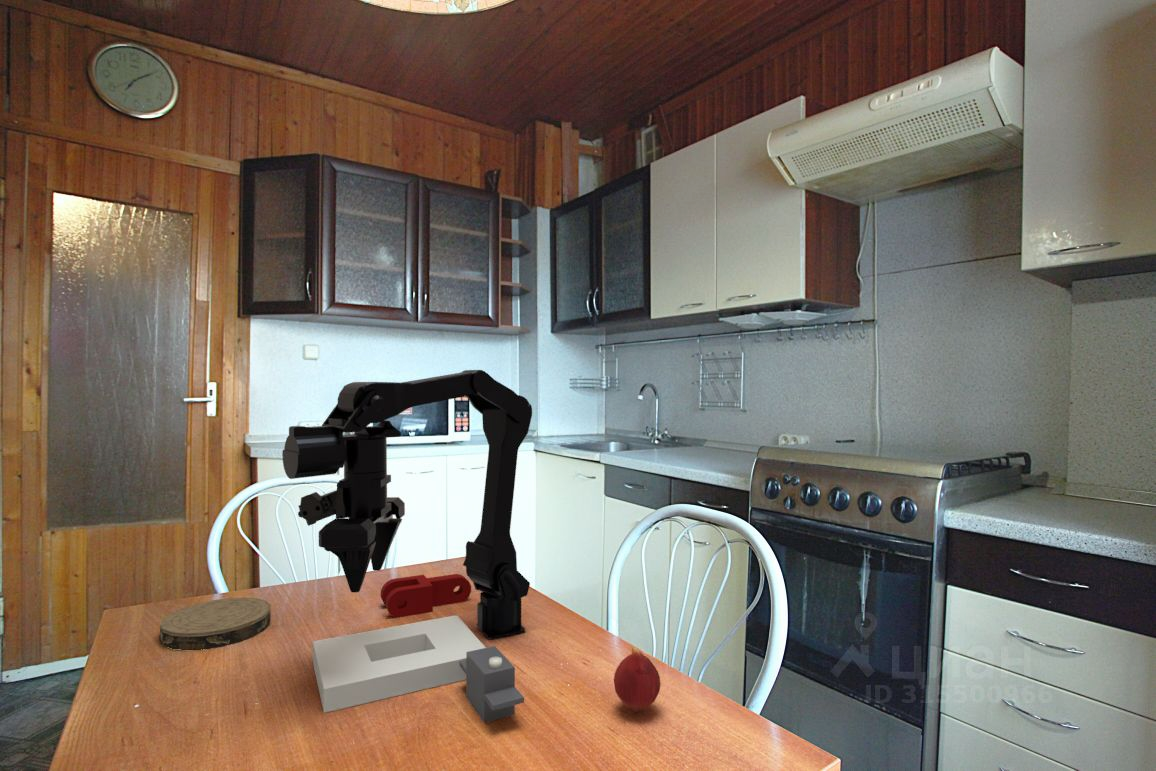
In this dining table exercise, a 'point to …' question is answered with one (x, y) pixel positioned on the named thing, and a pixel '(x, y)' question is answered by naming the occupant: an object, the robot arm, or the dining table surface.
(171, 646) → the wood slice
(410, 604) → the mechanical linkage
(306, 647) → the dining table surface
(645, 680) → the onion
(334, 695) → the frame
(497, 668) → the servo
